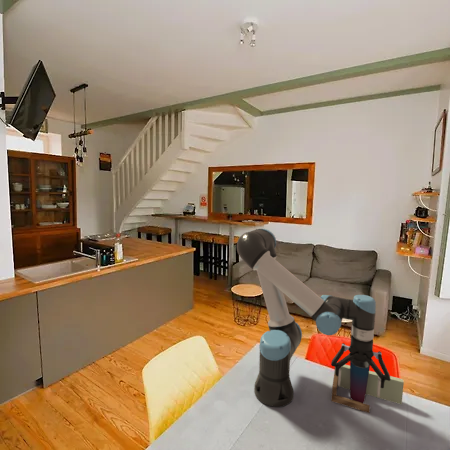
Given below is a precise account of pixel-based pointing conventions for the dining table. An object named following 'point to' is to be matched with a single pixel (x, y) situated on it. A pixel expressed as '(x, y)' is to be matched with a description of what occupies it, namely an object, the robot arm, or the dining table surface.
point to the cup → (358, 380)
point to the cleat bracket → (347, 401)
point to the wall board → (389, 392)
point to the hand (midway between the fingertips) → (358, 388)
